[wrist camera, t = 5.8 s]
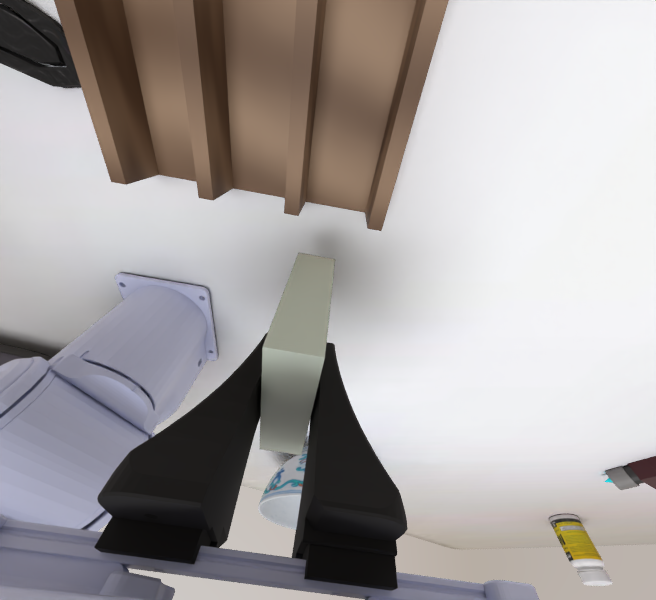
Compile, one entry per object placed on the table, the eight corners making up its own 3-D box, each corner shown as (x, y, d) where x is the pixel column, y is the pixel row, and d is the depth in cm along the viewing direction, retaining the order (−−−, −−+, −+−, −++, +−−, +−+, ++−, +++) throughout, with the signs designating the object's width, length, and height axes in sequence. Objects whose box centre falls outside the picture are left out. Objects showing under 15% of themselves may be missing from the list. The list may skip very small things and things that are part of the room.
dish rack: (375, 210, 18) (381, 230, 15) (156, 169, 17) (111, 181, 14) (450, -73, 11) (493, -154, 8) (86, -156, 10) (-35, -281, 7)
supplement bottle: (545, 515, 48) (578, 581, 41) (575, 512, 46) (614, 580, 39) (551, 523, 50) (583, 586, 43) (579, 520, 48) (617, 586, 42)
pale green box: (316, 348, 18) (301, 455, 12) (288, 343, 18) (259, 449, 12) (335, 259, 14) (324, 357, 8) (298, 252, 14) (262, 347, 8)
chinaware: (387, 448, 38) (395, 514, 31) (340, 481, 46) (339, 539, 40) (292, 418, 34) (279, 485, 28) (260, 459, 43) (245, 518, 36)
